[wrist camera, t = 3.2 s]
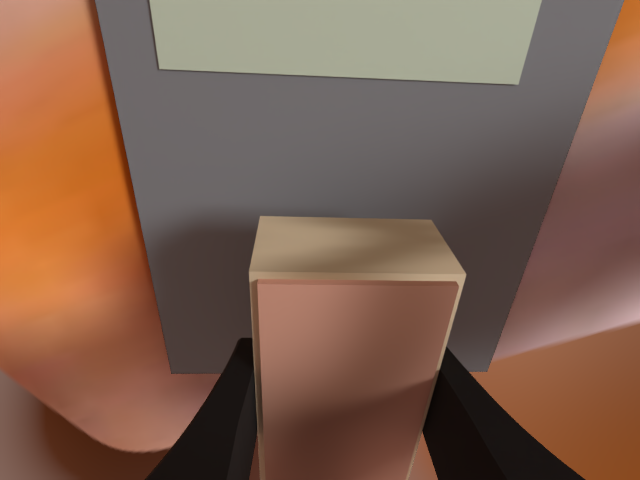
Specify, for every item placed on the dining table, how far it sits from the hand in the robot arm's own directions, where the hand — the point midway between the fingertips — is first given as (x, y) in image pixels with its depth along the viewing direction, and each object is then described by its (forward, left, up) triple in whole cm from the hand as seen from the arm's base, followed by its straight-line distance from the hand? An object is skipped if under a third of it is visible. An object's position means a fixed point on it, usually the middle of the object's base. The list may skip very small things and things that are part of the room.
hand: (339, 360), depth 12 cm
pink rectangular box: (0, 0, -1) cm, 1 cm away
